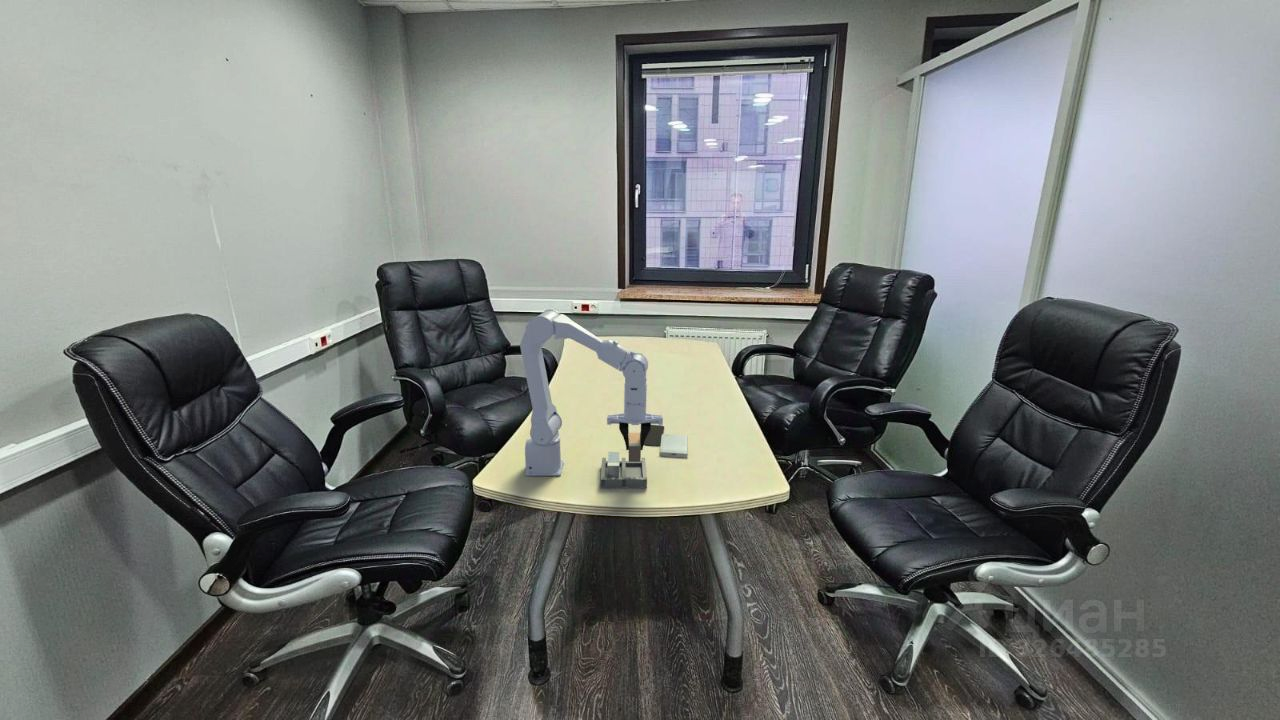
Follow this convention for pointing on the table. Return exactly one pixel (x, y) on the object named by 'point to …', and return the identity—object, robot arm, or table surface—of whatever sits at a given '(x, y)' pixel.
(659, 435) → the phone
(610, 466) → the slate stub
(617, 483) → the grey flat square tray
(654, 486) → the table surface
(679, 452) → the hard drive
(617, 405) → the table surface
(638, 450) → the terracotta stub
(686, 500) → the table surface
